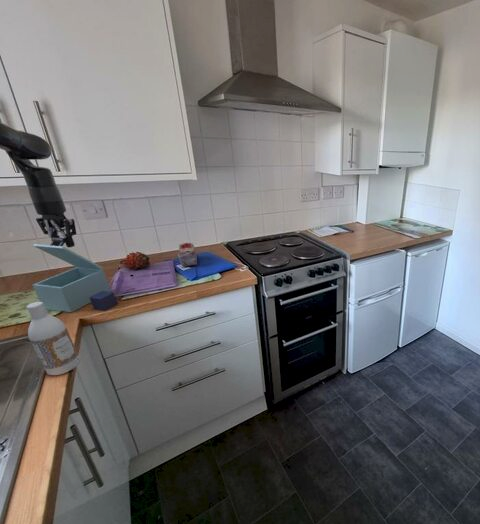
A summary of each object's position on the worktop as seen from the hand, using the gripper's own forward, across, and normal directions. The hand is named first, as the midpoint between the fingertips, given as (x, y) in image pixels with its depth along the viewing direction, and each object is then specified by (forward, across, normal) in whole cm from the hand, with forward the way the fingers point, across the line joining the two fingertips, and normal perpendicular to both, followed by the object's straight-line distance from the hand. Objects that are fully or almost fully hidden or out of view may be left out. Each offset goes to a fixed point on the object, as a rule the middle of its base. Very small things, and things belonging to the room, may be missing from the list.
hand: (64, 246), depth 109 cm
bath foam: (+22, +32, -32) cm, 51 cm away
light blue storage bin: (+21, 0, -2) cm, 21 cm away
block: (+21, +15, -4) cm, 26 cm away
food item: (+21, +17, +39) cm, 47 cm away
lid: (+5, 0, 0) cm, 5 cm away
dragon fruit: (+21, -2, +28) cm, 35 cm away
